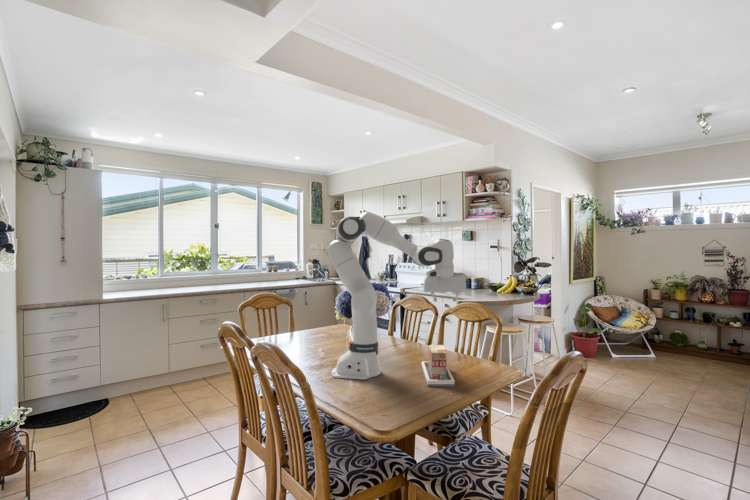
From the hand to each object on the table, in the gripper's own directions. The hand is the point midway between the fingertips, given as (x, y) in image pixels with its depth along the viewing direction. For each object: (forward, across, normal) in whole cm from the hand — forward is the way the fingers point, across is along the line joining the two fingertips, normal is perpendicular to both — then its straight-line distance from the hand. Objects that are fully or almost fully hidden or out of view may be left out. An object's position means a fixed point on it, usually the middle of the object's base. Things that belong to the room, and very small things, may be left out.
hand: (444, 301), depth 177 cm
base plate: (+31, +6, +14) cm, 35 cm away
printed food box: (+30, +6, +13) cm, 34 cm away
